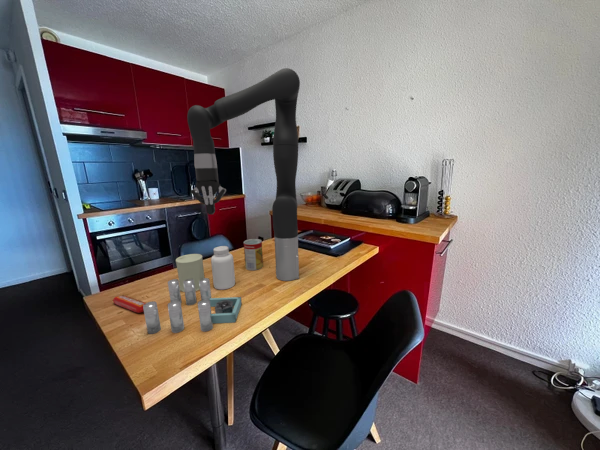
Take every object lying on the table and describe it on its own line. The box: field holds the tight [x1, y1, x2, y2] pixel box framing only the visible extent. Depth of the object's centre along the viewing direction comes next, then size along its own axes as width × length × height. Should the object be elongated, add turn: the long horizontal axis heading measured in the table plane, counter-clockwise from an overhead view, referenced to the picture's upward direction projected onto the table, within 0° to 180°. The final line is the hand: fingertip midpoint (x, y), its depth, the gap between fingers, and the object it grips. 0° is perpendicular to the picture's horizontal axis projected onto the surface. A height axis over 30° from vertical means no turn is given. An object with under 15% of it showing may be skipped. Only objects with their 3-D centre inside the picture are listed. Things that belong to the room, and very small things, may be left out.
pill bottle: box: [210, 245, 236, 290], centre depth 93 cm, size 8×8×15 cm
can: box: [175, 253, 206, 293], centre depth 93 cm, size 9×9×12 cm
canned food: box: [243, 238, 264, 271], centre depth 111 cm, size 8×8×12 cm
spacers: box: [143, 277, 214, 335], centre depth 76 cm, size 18×17×8 cm
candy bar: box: [112, 295, 147, 313], centre depth 81 cm, size 16×4×3 cm, turn 64°
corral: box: [209, 296, 242, 324], centre depth 77 cm, size 10×10×2 cm
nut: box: [214, 300, 234, 314], centre depth 77 cm, size 5×6×3 cm
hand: (211, 214), depth 94 cm, fingers closed
